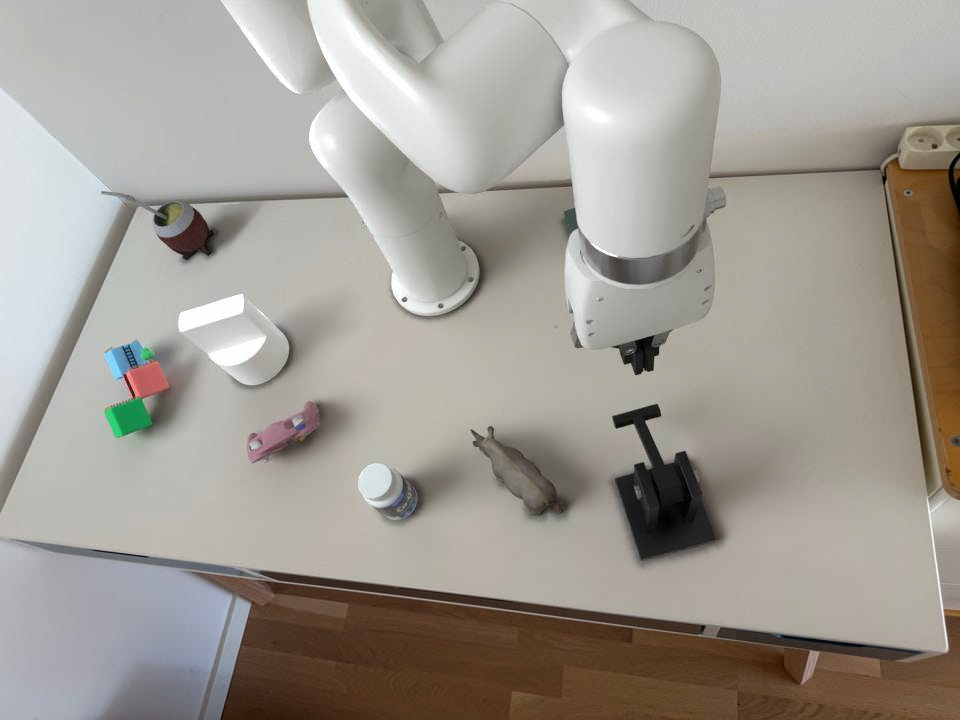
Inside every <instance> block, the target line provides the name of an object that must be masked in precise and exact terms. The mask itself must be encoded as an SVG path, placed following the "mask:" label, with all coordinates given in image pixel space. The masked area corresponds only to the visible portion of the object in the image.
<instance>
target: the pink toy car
mask: <svg viewBox="0 0 960 720" xmlns="http://www.w3.org/2000/svg"><path fill="white" fill-rule="evenodd" d="M319 422H320V411H319V408H318V406H317V405H316V404H315V403H314V402H313V401H311V400H308V401H306V402H305V403H304V407H303V410H302V411H300V412H298V413H296V414H294V415H291V416H289V417H288V418H286V419H283V420H279V421H275V422H273V423H271V424H270V425H269V426H268V427H266V428H265V429H264V430H263V432H261V433H259V434H258V433H255V432H252V433H250V434H248V437H247V442H246V448H245V449H246V452H247V457H248V458H249V460H250V462H251V463H252V464H255V463H257V462H262V464H268V463H270V462H271V461H272V459H273V457H271V456H272V455H273V454H275V453H277V452H279V451H281V450H283V449H285V448H286V447H288V446H289V444H288V442H287V441H289V440H291V439H292V441H293V442H297V441H300V442H302V441H305V440H306V438H307V437H306V436H308V435H309V434H311V433H313V431H315V430H316V429H318V428H320V424H319Z"/></svg>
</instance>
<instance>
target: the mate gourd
mask: <svg viewBox="0 0 960 720" xmlns="http://www.w3.org/2000/svg"><path fill="white" fill-rule="evenodd" d="M100 194H101V195H105V196H113V197H118V198H121V199H125V200H126V201H128V202H129V203H133V204H135V205H137V206H139V207H141V208H142V209H144V210H147V211H148V212H150V213H152V214H153V217H152V227H153V231H154V234H155V235H156V236H157V237H158V239H159V240H160V241H161V242H162V243H164V244H165V245H166V246H167V248H169V249H170V250H172V251H173V252H175V253H176V254H179V255H181V256H182V259H184V260H185V261H188V260H189V259H190V258H191V257H192V256H193V255H194V254H195V253H197V252H198V251H199V250H200V251H201V252H202V253H203V254H205V255H206V256H208V257H209V256H210V255H211V254H212V251H211V250H210V249H209V248H208V247H206V246H205V244H206V243H207V242H208V241H209V240H210V239H211V238H212V237H213V236H215V232H214V231H213V229H210V227H209V225H208V223H207V221H206V219H205V217H203V215H202V214H201V212H200V211H199V210H198V209H196V208H195V207H193V205H191V204H189V203H188V202H185V201H181V200H171V201H167V202H165V203H163V204H162V205H161V206H159V207H158V208H157V209H154V208H152V207H150V206H149V205H147V204H145V203H144V202H142V201H139V200H138V199H136V198H135V197H134V196H132V195H130V194H125V193H121V192H116V191H106V190H105V191H104V190H101V191H100Z"/></svg>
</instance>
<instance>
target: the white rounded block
mask: <svg viewBox="0 0 960 720" xmlns="http://www.w3.org/2000/svg"><path fill="white" fill-rule="evenodd" d="M177 324H178V331H179V333H180V334H182V335H183V336H184V337H185V338H187V340H189V341H190V342H192V343H193V344H194V345H195V346H197V347H198V348H199V349H200V350H202V351H203V352H205V354H207V356H208V357H209V359H210V360H211V362H214V364H216V365H218V367H219V368H221V369H222V370H224V371H225V372H226V373H227V374H229V375H230V376H231V377H232V378H234V379H235V380H236V381H237V382H238V383H241V384H243V385H246V386H256V385H262V384H264V383H266V382H269V381H270V380H272V379H273V378H275V377H276V376H277V375H278V374H279V373H280V372H281V371H282V370H283V368H284V367H285V365H286V363H287V361H288V358H289V355H290V345H289V340H288V339H287V337H286V336H285V334H284V333H283V332H282V331H281V330H280V329H279V328H278V327H277V326H276V324H274V323H273V322H272V321H271V320H270V319H269V318H268V317H267V316H266V315H265V313H263V312H262V311H260V310H259V309H258V308H257V307H256V306H255V304H253V303H252V302H251V301H250V300H249V299H248V298H247V296H245V294H243V293H239V294H236V295H232V296H229V297H226V298H223V299H219V300H217V301H213V302H210V303H207V304H204V305H201V306H197V307H193V308H191V309H188V310H184V311H182V312H180V313H179V317H178V323H177Z"/></svg>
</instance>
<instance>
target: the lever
mask: <svg viewBox="0 0 960 720" xmlns="http://www.w3.org/2000/svg"><path fill="white" fill-rule="evenodd" d="M661 417H662V411H661V408H660V406H659V404H658V403H654V404H651V405H647V406H643V407H639V408H636V409H633V410H629V411H626V412H621V413H619V414H614V415H612V416H611V419H612V423H613V426H614V428H615V429H616V430H617V429H621V428H624V427H628V426H632V425H633V426H634V429H635V431H636V433H637V435H638V437H639V440H640V442H641V445H642V447H643V450H644V452H645V454H646V457H647V459H648V461H649V463H650V466H651V468H649V469H650V474H651V480H652V485H653V487H654V490H655V492H656V494H657V497H658V499H659V502H660V504H661V506H665V505H669V504H673V503H677V502H681V501H684V496H683V489H682V483H681V481H680V479H679V477H678V475H677V473H676V471H675V469H674V466H673V464H672V463H673V462H670V463H666V464H665V461H664V460H663V458H662V455H661V453H660V450H659V449H658V447H657V444H656V442H655V440H654V438H653V435H652V433H651V431H650V429H649V427H648V425H647V422H646V421H650V420H653V419H658V418H661Z"/></svg>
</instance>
